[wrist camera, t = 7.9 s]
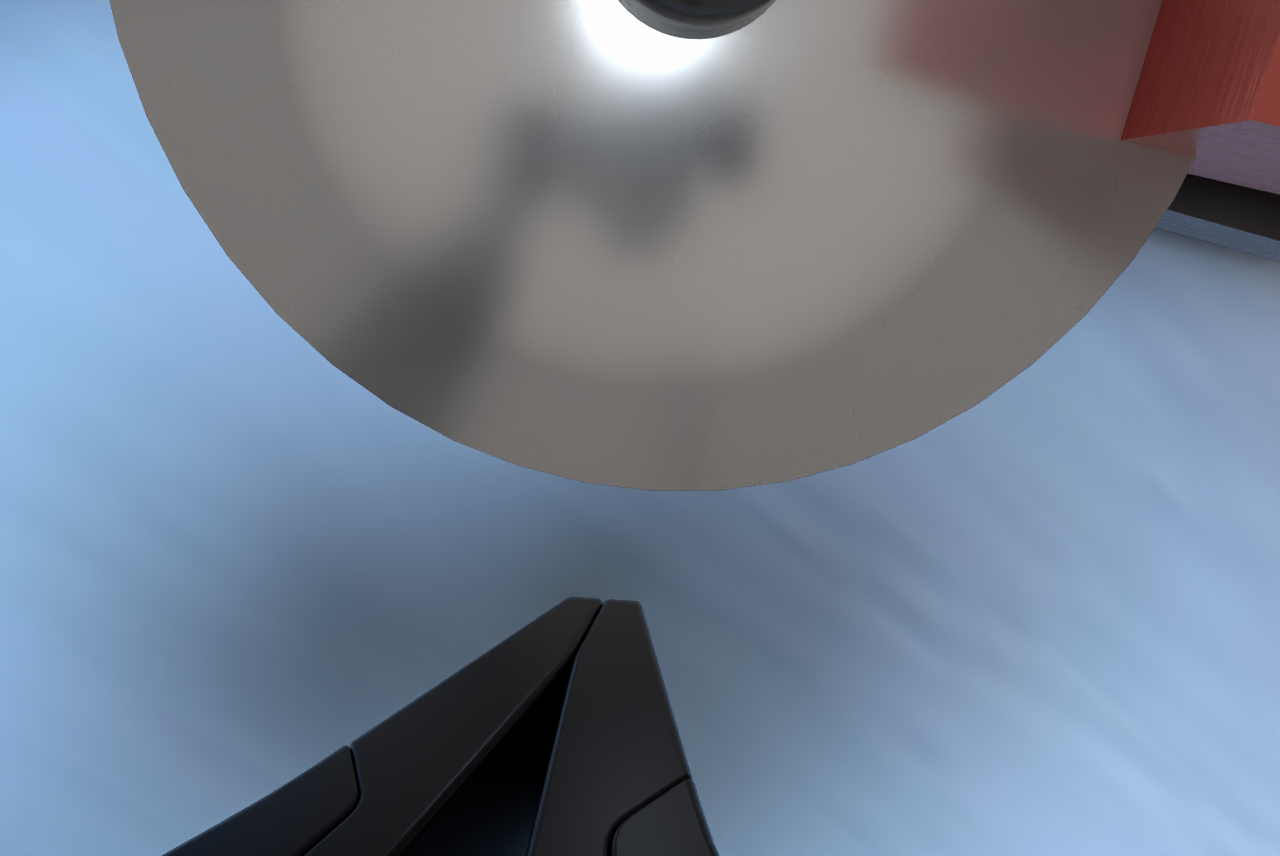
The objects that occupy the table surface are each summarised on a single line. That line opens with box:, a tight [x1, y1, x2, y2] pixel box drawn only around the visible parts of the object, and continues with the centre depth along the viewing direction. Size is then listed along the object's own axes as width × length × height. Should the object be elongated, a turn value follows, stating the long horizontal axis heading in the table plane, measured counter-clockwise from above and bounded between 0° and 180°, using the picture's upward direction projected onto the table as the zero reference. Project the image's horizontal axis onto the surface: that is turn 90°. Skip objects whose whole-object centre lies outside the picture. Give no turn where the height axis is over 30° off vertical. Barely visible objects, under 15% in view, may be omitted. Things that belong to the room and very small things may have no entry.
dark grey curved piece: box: [1155, 173, 1280, 262], centre depth 16 cm, size 14×24×6 cm, turn 76°
